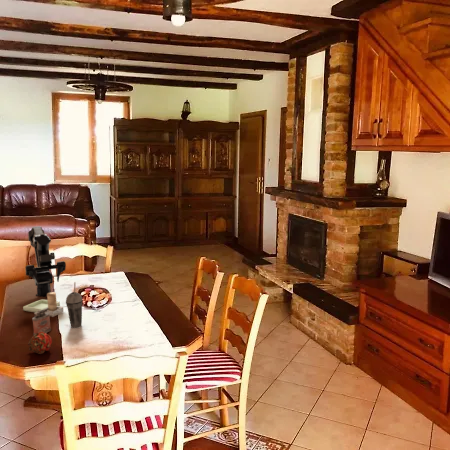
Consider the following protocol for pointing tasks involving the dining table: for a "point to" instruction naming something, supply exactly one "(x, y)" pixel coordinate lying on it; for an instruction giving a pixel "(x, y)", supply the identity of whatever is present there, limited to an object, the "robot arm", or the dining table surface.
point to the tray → (37, 305)
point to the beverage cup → (74, 308)
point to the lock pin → (52, 301)
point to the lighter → (41, 321)
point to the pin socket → (55, 311)
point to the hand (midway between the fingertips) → (48, 283)
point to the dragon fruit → (40, 343)
